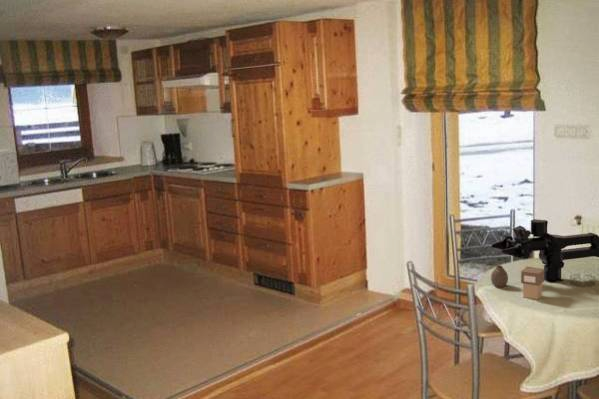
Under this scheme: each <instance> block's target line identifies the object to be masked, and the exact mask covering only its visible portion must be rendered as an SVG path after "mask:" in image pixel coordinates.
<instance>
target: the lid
mask: <svg viewBox="0 0 599 399" xmlns="http://www.w3.org/2000/svg"><path fill="white" fill-rule="evenodd" d="M520 278H521V280H520V282H521V284H529V285H536V286H539V285H540V284H541V283H542V284H543V283H544V282H545V279H544V268H539V267H533V266H526V267H525V268H523V269H522V270H520Z"/></svg>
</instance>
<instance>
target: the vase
mask: <svg viewBox="0 0 599 399" xmlns="http://www.w3.org/2000/svg"><path fill="white" fill-rule="evenodd" d="M490 281H491V283H492V285H493V286H494V287H496V288H504V287H506V286H507V284H508V281H509V276H508V273H507V271H506V270H505V269H504V267H503V265H499V264H498V265H496V266H495V268H494V269H493V270H492V272H491V275H490Z"/></svg>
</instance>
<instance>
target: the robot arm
mask: <svg viewBox="0 0 599 399" xmlns="http://www.w3.org/2000/svg"><path fill="white" fill-rule="evenodd" d="M548 224H549V222H548V220H546V219H537V218H536V219H535V218H534V219H531V220H530V230H528V229H526V228H525V227H524V226H523V225H518V226H515V227H514V228H513V229H512V230H513V233H514V235H515V237H514V238H513V236H511V235H509V234H503V235H502V238H501V240H499V241H497V242H495V243H492V244H491V248H495V249H498V250H501V253H502V254H505V255H510V256H512V257H516V258H519V259H522V260H528V259H529V258H530V257H531V254H532V253H533V252H539V253H538V258H539V260H540V261H541V263H542V264H543V269H544V281H547V282H549V283H553V282H554V283H556V282H562V281H564V279H563V278H562V269H563V268H564V266H565V262H564V261H567V260H575V259H584V258H599V235H598V234H597V233H594V232H588V233H580V234H570V235H560V234H559V235H558V234H551V233H548ZM531 235H533V237H531ZM588 244H590V245H589V246H586V247H585V246H583V247H575V248H566V247H571V246H579V245H581V246H582V245H588Z"/></svg>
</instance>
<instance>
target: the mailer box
mask: <svg viewBox="0 0 599 399" xmlns="http://www.w3.org/2000/svg"><path fill="white" fill-rule="evenodd" d="M522 284H523V283H522ZM522 291H523V292H522V297H523V298H525V299H531V300H539V299H540V298H541V297H542V296H543V282H542V283H541V284H540V285H539V286H536V285H529V284H523V285H522Z"/></svg>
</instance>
